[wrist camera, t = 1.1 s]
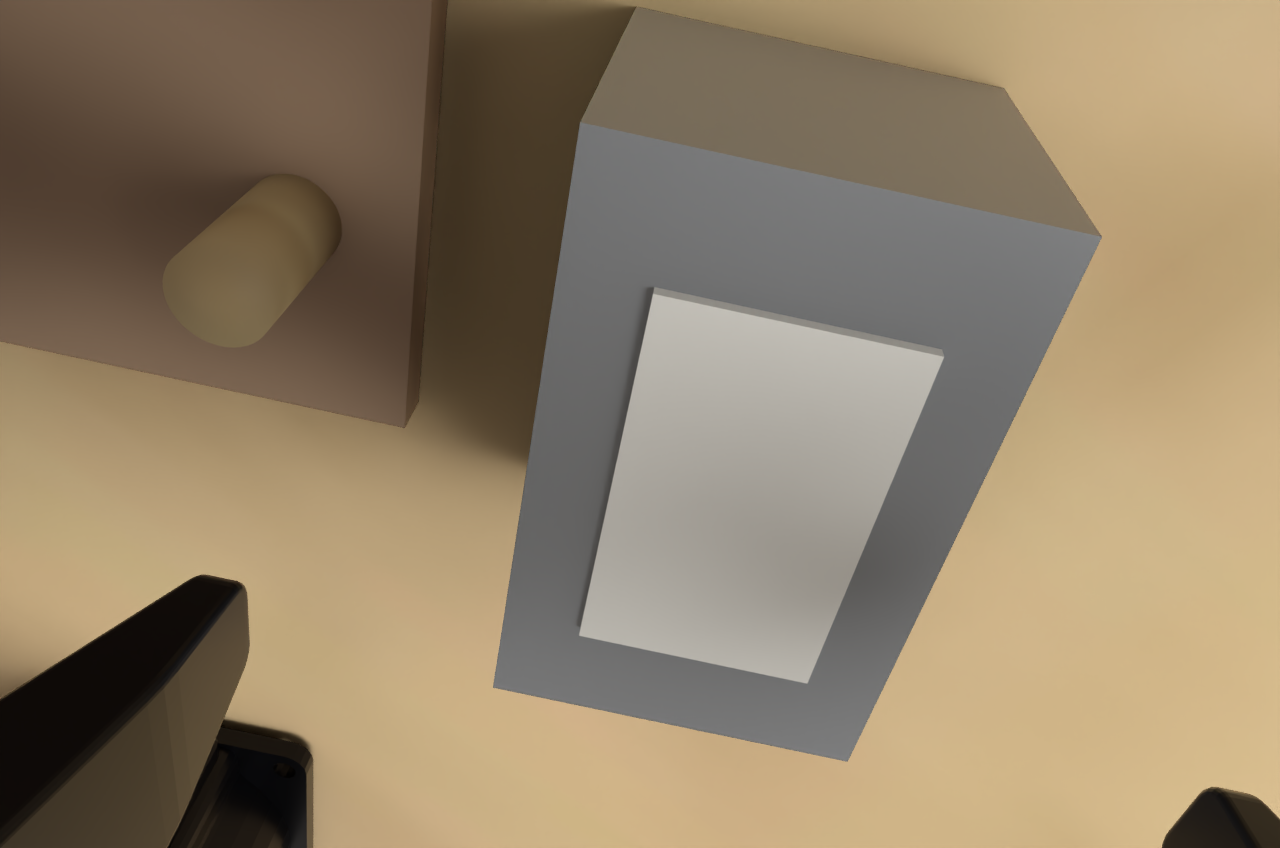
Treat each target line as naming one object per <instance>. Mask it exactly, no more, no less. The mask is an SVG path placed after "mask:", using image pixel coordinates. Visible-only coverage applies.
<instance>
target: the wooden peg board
mask: <svg viewBox="0 0 1280 848" xmlns="http://www.w3.org/2000/svg"><path fill="white" fill-rule="evenodd" d="M447 1H448V0H0V341H1V342H6V343H11V344H15V345H20V346H25V347H29V348H34V349H39V350H43V351H48V352H53V353H57V354H62V355H67V356H71V357H76V358H81V359H85V360H90V361H95V362H99V363H104V364H109V365H113V366H118V367H123V368H127V369H132V370H137V371H141V372H146V373H151V374H155V375H160V376H165V377H169V378H174V379H179V380H183V381H188V382H193V383H197V384H202V385H207V386H211V387H216V388H221V389H225V390H230V391H235V392H239V393H244V394H248V395H253V396H258V397H262V398H267V399H272V400H276V401H281V402H286V403H290V404H295V405H300V406H304V407H309V408H314V409H318V410H323V411H328V412H332V413H337V414H342V415H346V416H351V417H356V418H360V419H365V420H370V421H374V422H379V423H384V424H388V425H393V426H398V427H402V428H405V426H406V424H407V423H408V421H409V419H410V417H411V415H412V413H413V411H414V409H415V407H416V405H417V404H418V402H419V388H420V374H421V361H422V347H423V333H424V319H425V305H426V292H427V278H428V264H429V250H430V236H431V222H432V209H433V195H434V181H435V167H436V153H437V139H438V126H439V112H440V98H441V84H442V70H443V56H444V43H445V29H446V15H447Z"/></svg>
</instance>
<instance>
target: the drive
mask: <svg viewBox="0 0 1280 848" xmlns="http://www.w3.org/2000/svg"><path fill="white" fill-rule="evenodd" d="M1101 238H1102V236H1101V235H1100V233H1099V232H1098V230H1097V229H1096V227H1095V226H1094V224H1093V223H1092V221H1091V220H1090V218H1089V217H1088V215H1087V214H1086V212H1085V211H1084V209H1083V208H1082V206H1081V204H1080V203H1079V201H1078V200H1077V198H1076V197H1075V195H1074V194H1073V192H1072V191H1071V189H1070V188H1069V186H1068V185H1067V183H1066V182H1065V180H1064V179H1063V177H1062V176H1061V174H1060V173H1059V171H1058V170H1057V168H1056V167H1055V165H1054V164H1053V162H1052V161H1051V159H1050V157H1049V156H1048V154H1047V153H1046V151H1045V150H1044V148H1043V147H1042V145H1041V144H1040V142H1039V141H1038V139H1037V138H1036V136H1035V135H1034V133H1033V132H1032V130H1031V129H1030V127H1029V126H1028V124H1027V123H1026V121H1025V120H1024V118H1023V117H1022V115H1021V113H1020V112H1019V110H1018V109H1017V107H1016V106H1015V104H1014V103H1013V101H1012V100H1011V98H1010V97H1009V95H1008V94H1007V92H1006V91H1005V89H1004V88H1000V87H995V86H991V85H986V84H982V83H977V82H973V81H968V80H964V79H959V78H955V77H950V76H946V75H941V74H937V73H933V72H928V71H924V70H919V69H915V68H910V67H906V66H901V65H897V64H892V63H888V62H883V61H879V60H874V59H870V58H865V57H861V56H856V55H852V54H847V53H843V52H838V51H834V50H829V49H825V48H820V47H816V46H811V45H807V44H802V43H798V42H793V41H789V40H784V39H780V38H775V37H771V36H766V35H762V34H757V33H753V32H748V31H744V30H739V29H735V28H730V27H726V26H721V25H717V24H712V23H708V22H703V21H699V20H694V19H690V18H685V17H681V16H676V15H672V14H667V13H663V12H659V11H654V10H650V9H645V8H641V7H636V8H635V10H634V12H633V15H632V17H631V19H630V21H629V23H628V25H627V27H626V29H625V31H624V33H623V35H622V37H621V39H620V41H619V43H618V45H617V47H616V50H615V52H614V54H613V56H612V58H611V60H610V62H609V64H608V66H607V68H606V70H605V72H604V74H603V76H602V78H601V80H600V82H599V85H598V87H597V89H596V91H595V93H594V95H593V97H592V99H591V101H590V103H589V105H588V107H587V109H586V111H585V113H584V115H583V117H582V120H581V122H580V127H579V133H578V140H577V146H576V153H575V159H574V166H573V172H572V179H571V185H570V192H569V198H568V205H567V211H566V217H565V224H564V230H563V237H562V243H561V250H560V256H559V263H558V269H557V276H556V282H555V289H554V295H553V302H552V308H551V315H550V321H549V328H548V334H547V341H546V347H545V354H544V360H543V367H542V373H541V380H540V386H539V393H538V399H537V406H536V412H535V419H534V425H533V432H532V438H531V445H530V451H529V458H528V464H527V471H526V477H525V484H524V490H523V497H522V503H521V510H520V516H519V523H518V529H517V536H516V542H515V549H514V555H513V562H512V568H511V575H510V581H509V588H508V594H507V601H506V607H505V614H504V620H503V627H502V633H501V640H500V646H499V653H498V659H497V666H496V672H495V679H494V685H493V688H498V689H503V690H507V691H512V692H517V693H522V694H527V695H531V696H536V697H541V698H546V699H550V700H555V701H560V702H565V703H570V704H574V705H579V706H584V707H589V708H593V709H598V710H603V711H608V712H613V713H617V714H622V715H627V716H632V717H636V718H641V719H646V720H651V721H656V722H660V723H665V724H670V725H675V726H680V727H684V728H689V729H694V730H699V731H703V732H708V733H713V734H718V735H723V736H727V737H732V738H737V739H742V740H746V741H751V742H756V743H761V744H766V745H770V746H775V747H780V748H785V749H789V750H794V751H799V752H804V753H809V754H813V755H818V756H823V757H828V758H832V759H837V760H842V761H847V762H848V760H849V758H850V756H851V753H852V751H853V749H854V747H855V745H856V743H857V741H858V739H859V737H860V735H861V733H862V731H863V729H864V727H865V725H866V723H867V720H868V718H869V716H870V714H871V712H872V710H873V708H874V706H875V704H876V702H877V700H878V698H879V696H880V694H881V692H882V690H883V687H884V685H885V683H886V681H887V679H888V677H889V675H890V673H891V671H892V669H893V667H894V665H895V663H896V661H897V659H898V657H899V654H900V652H901V650H902V648H903V646H904V644H905V642H906V640H907V638H908V636H909V634H910V632H911V630H912V628H913V626H914V624H915V621H916V619H917V617H918V615H919V613H920V611H921V609H922V607H923V605H924V603H925V601H926V599H927V597H928V595H929V593H930V591H931V588H932V586H933V584H934V582H935V580H936V578H937V576H938V574H939V572H940V570H941V568H942V566H943V564H944V562H945V560H946V557H947V555H948V553H949V551H950V549H951V547H952V545H953V543H954V541H955V539H956V537H957V535H958V533H959V531H960V529H961V527H962V524H963V522H964V520H965V518H966V516H967V514H968V512H969V510H970V508H971V506H972V504H973V502H974V500H975V498H976V496H977V494H978V491H979V489H980V487H981V485H982V483H983V481H984V479H985V477H986V475H987V473H988V471H989V469H990V467H991V465H992V463H993V461H994V458H995V456H996V454H997V452H998V450H999V448H1000V446H1001V444H1002V442H1003V440H1004V438H1005V436H1006V434H1007V432H1008V430H1009V428H1010V425H1011V423H1012V421H1013V419H1014V417H1015V415H1016V413H1017V411H1018V409H1019V407H1020V405H1021V403H1022V401H1023V399H1024V397H1025V395H1026V392H1027V390H1028V388H1029V386H1030V384H1031V382H1032V380H1033V378H1034V376H1035V374H1036V372H1037V370H1038V368H1039V366H1040V364H1041V362H1042V359H1043V357H1044V355H1045V353H1046V351H1047V349H1048V347H1049V345H1050V343H1051V341H1052V339H1053V337H1054V335H1055V333H1056V331H1057V329H1058V326H1059V324H1060V322H1061V320H1062V318H1063V316H1064V314H1065V312H1066V310H1067V308H1068V306H1069V304H1070V302H1071V300H1072V298H1073V296H1074V293H1075V291H1076V289H1077V287H1078V285H1079V283H1080V281H1081V279H1082V277H1083V275H1084V273H1085V271H1086V269H1087V267H1088V265H1089V263H1090V260H1091V258H1092V256H1093V254H1094V252H1095V250H1096V248H1097V246H1098V244H1099V242H1100V240H1101Z"/></svg>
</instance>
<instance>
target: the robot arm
mask: <svg viewBox="0 0 1280 848" xmlns="http://www.w3.org/2000/svg"><path fill="white" fill-rule="evenodd" d="M249 646H250V640H249V619H248V599H247V591H246V588H245V586H244V585H243V584H242V583H240V582H238V581H234V580H229V579H224V578H220V577H215V576H210V575H199V576H196V577H193V578H191V579H190V580H188V581H186V582H185V583H183V584H182V585H180V586H178V587H177V588H175V589H174V590H172V591H171V592H169V593H167V594H166V595H164V596H163V597H161V598H159V599H158V600H156V601H155V602H153V603H152V604H150V605H148V606H147V607H145V608H144V609H142V610H140V611H139V612H137V613H136V614H134V615H133V616H131V617H129V618H128V619H126V620H125V621H123V622H121V623H120V624H118V625H117V626H115V627H114V628H112V629H110V630H109V631H107V632H106V633H104V634H102V635H101V636H99V637H98V638H96V639H94V640H93V641H91V642H90V643H88V644H87V645H85V646H83V647H82V648H80V649H79V650H77V651H75V652H74V653H72V654H71V655H69V656H68V657H66V658H64V659H63V660H61V661H60V662H58V663H56V664H55V665H53V666H52V667H50V668H49V669H47V670H45V671H44V672H42V673H41V674H39V675H37V676H36V677H34V678H33V679H31V680H30V681H28V682H26V683H25V684H23V685H22V686H20V687H18V688H17V689H15V690H14V691H12V692H10V693H9V694H7V695H6V696H4V697H3V698H1V699H0V848H313V758H312V755H311V754H310V752H309V751H308V750H307V749H306V748H304V747H302V746H301V745H299V744H296V743H293V742H290V741H285V740H280V739H275V738H270V737H266V736H261V735H256V734H251V733H246V732H242V731H237V730H232V729H227V728H223V727H220V726H221V724H222V722H223V719H224V717H225V714H226V712H227V709H228V707H229V705H230V702H231V700H232V697H233V695H234V693H235V690H236V688H237V685H238V683H239V680H240V678H241V676H242V673H243V671H244V668H245V665H246V662H247V658H248V653H249ZM1162 848H1280V819H1279V818H1278V817H1277V816H1276V815H1275V814H1274V813H1273V812H1272V811H1271V809H1270V808H1269V807H1268V806H1267V805H1266V804H1264V803H1263V802H1262V801H1261V800H1260V799H1258V798H1257V797H1255V796H1253V795H1250V794H1247V793H1243V792H1238V791H1233V790H1228V789H1224V788H1219V787H1210V788H1208V789H1205V790H1203V791H1202V792H1201V793H1200V794H1199V795H1198V796H1197V798H1196V799H1195V800H1194V801H1193V802H1192V804H1191V805H1190V806H1189V807H1188V808H1187V810H1186V811H1185V812H1184V813H1183V815H1182V816H1181V817H1180V818H1179V819H1178V821H1177V822H1176V823H1175V824H1174V825H1173V827H1172V828H1171V829H1170V830H1169V832H1168V833H1167V835H1166V836H1165V839H1164V841H1163V845H1162Z"/></svg>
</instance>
